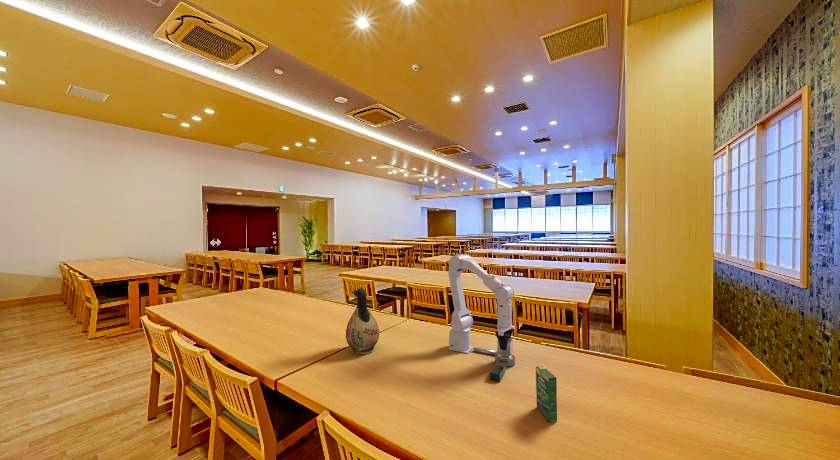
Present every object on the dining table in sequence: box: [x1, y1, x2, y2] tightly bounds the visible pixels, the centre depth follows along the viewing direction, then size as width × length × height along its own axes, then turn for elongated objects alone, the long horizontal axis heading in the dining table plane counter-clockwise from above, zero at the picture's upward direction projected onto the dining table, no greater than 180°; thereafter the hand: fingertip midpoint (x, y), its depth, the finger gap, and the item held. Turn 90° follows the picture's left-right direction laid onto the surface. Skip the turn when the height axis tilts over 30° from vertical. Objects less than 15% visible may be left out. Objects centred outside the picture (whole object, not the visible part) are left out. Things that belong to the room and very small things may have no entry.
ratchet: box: [489, 353, 516, 383], centre depth 123 cm, size 8×20×6 cm, turn 152°
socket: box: [496, 338, 514, 356], centre depth 128 cm, size 5×5×6 cm
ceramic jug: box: [345, 287, 380, 355], centre depth 142 cm, size 17×15×30 cm
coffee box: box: [535, 365, 558, 423], centre depth 94 cm, size 8×3×13 cm, turn 6°
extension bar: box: [472, 346, 497, 356], centre depth 138 cm, size 13×2×2 cm, turn 62°
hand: (504, 347), depth 128 cm, fingers closed on socket, 5 cm apart
